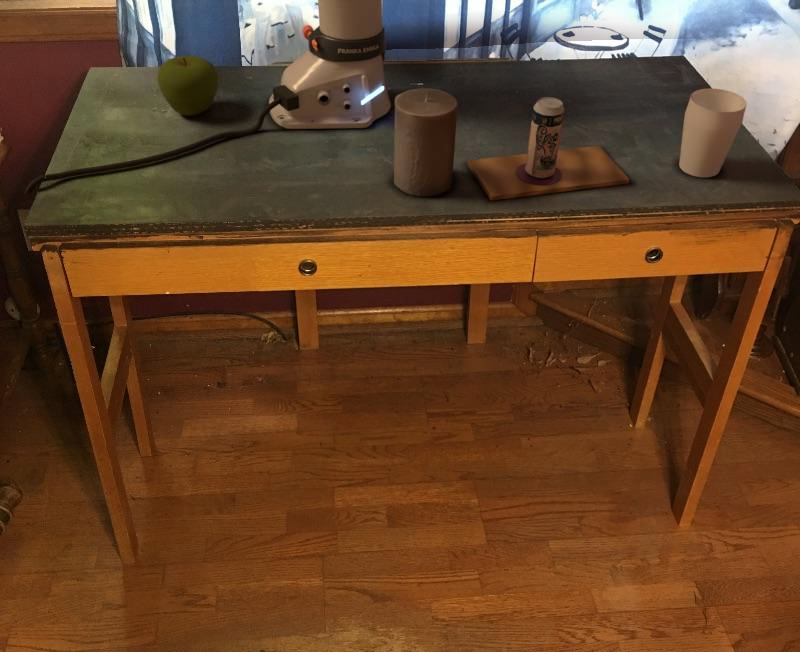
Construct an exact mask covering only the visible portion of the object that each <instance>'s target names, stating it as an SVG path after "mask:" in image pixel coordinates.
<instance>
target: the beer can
mask: <svg viewBox="0 0 800 652" xmlns="http://www.w3.org/2000/svg"><path fill="white" fill-rule="evenodd" d="M532 108H533V110H532V117H531V124H530V130H529V131H530V132H529V139H528V146H527V153H526V154H527V161H526V172H527V173H528V174H530V175H531V176H533V177H536V178H546V177H549V176H551V175H553V174H554V172H555V167H556V160H557V154H558V150H559V146H560V141H561V134H562V128H563V124H564V123H563V122H564V116H565V107H564V103H563V101H562V100H561V99H559V98H557V97H551V96H544V97H540V98H539V99H538V100H536V103H535V104H534V105H533V107H532Z"/></svg>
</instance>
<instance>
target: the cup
mask: <svg viewBox="0 0 800 652" xmlns="http://www.w3.org/2000/svg"><path fill="white" fill-rule="evenodd" d="M746 109H747V100H746V99H745V98H744V97H742V96H741V95H739V93H736V92H734V91H730V90H726V89H721V88H712V87H711V88H701V89H697V90H695V91H693V92H692V93H691V94H690V97H689V100H688V103H687V106H686V109H685V111H684V119H683V127H682V135H681V136H682V137H681V143H680V144H681V146H680V153H679V163H678V166H679V168H680V170H682V171H683V172H684V173H685V174H687V175H689V176H692V177H695V178H712V177H715V176H717V175H718V174H719V173H720V171H721V170H722V168H723V167H722V166H723V165H724V163H725V160H726V158H727V157H728V154H729V152H730V150H731V148H732V146H733V144H734V142H735V139H736V137H737V135H738V133H739V131H740V129H741V127H742V124H743V121H744V117H745V112H746Z"/></svg>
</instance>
